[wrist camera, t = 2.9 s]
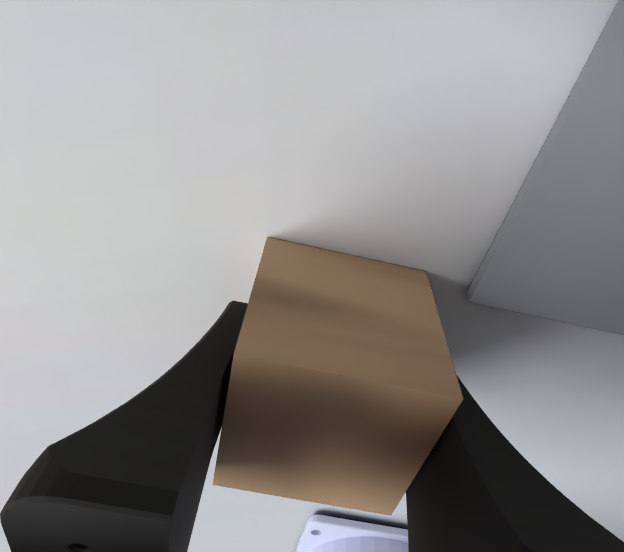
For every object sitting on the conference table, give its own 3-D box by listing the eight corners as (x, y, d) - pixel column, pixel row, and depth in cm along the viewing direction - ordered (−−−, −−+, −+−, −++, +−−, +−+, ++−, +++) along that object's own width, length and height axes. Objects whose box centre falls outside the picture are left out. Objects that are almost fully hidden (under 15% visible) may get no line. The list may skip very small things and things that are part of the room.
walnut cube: (378, 380, 16) (391, 515, 12) (246, 354, 16) (212, 484, 12) (426, 271, 14) (463, 399, 9) (267, 237, 13) (233, 353, 9)
